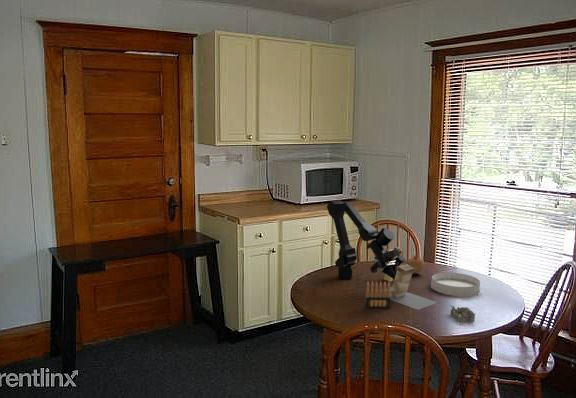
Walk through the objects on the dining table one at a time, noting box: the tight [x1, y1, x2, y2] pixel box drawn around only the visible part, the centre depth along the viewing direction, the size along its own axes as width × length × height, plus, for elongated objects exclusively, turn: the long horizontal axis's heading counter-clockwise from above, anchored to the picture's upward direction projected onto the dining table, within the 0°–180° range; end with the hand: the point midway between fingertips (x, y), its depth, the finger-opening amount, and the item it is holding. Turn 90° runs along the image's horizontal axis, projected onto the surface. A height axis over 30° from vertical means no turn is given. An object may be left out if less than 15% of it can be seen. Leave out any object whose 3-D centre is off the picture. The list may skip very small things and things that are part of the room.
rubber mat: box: [382, 286, 438, 311], centre depth 235 cm, size 26×14×1 cm, turn 39°
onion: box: [405, 254, 426, 275], centre depth 270 cm, size 10×9×10 cm
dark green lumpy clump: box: [449, 304, 477, 324], centre depth 213 cm, size 11×8×4 cm
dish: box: [430, 272, 481, 298], centre depth 248 cm, size 22×22×5 cm
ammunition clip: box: [364, 280, 391, 310], centre depth 222 cm, size 11×2×12 cm, turn 90°
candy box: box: [383, 248, 404, 283], centre depth 260 cm, size 9×4×15 cm, turn 129°
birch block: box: [391, 263, 414, 298], centre depth 235 cm, size 4×6×14 cm
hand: (397, 280), depth 237 cm, fingers closed
